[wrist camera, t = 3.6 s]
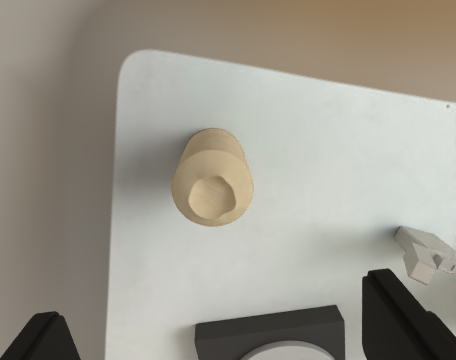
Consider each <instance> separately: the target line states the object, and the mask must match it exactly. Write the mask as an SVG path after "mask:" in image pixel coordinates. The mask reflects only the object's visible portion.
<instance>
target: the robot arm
mask: <svg viewBox="0 0 456 360" xmlns="http://www.w3.org/2000/svg"><path fill="white" fill-rule="evenodd" d="M362 346H363V350H364V354H365V356H366V358H367V360H456V337H455V336H454V334H453V333H452V332H451V331H450V330H449V329H448V328H447V327H446V325H445V324H444V323H443V322H442V321H441V320H440V319H439V318H438V317H437V316H436V315H435V314H434V313H432V312H430V311H426V310H425V309H424V308H423V307H422V306H421V305H420V303H419V302H418V301H417V300H416V299H415V298H414V296H413V295H412V294H411V293H410V292H409V291H408V289H407V288H406V287H405V286H404V285H403V284H402V282H401V281H400V280H399V279H398V278H397V277H396V275H395V274H394V273H393V272H392V271H391V270H390V269H388V268H387V269H379V270H372V271H369V272H368V275H367V276H364V277H363V280H362ZM0 360H81V359H80V357H79V354H78V352H77V349H76V346H75V344H74V342H73V339H72V336H71V334H70V331H69V329H68V326H67V323H66V321H65V319H64V317H63V316H60V315H59V313H57V312H54V311H53V312H45V313H38V314H35V315H34V316H33V317H32V318H31V319H30V320H29V322H28V323H27V324H26V326H25V327H24V328H23V329H22V331H21V332H20V333H19V335H18V336H17V337H16V338H15V340H14V341H13V342H12V344H11V345H10V346H9V347H8V349H7V350H6V351H5V353H4V354H3V355H2V357H1V358H0Z"/></svg>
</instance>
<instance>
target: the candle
mask: <svg viewBox="0 0 456 360" xmlns="http://www.w3.org/2000/svg"><path fill="white" fill-rule="evenodd" d="M253 189H254V186H253V180H252V176H251V173H250V170H249V167H248V164H247V161H246V158H245V155H244V152H243V149H242V147H241V145H240V143H239V141H238V140H237V139H236V138H235V137H234V136H233V135H232V134H231V133H229V132H227V131H225V130H222V129H216V128H211V129H206V130H203V131H200V132H198V133H197V134H195V135H194V136H193V137H192V138H191V139H190V140H189V142H188V144H187V145H186V147H185V150H184V152H183V154H182V157H181V159H180V162H179V164H178V166H177V169H176V171H175V174H174V177H173V180H172V196H173V200H174V202H175V204H176V206H177V208H178V209H179V211H180V212H181V213H182V214H183V215H184V216H185V217H186V218H188V219H189V220H191V221H193V222H195V223H197V224H200V225H204V226H222V225H226V224H228V223H231V222H233V221H235V220H236V219H238V218H239V217H240V216H241V215H242V214H243V213H244V212H245V211H246V210H247V208H248V207H249V205H250V203H251V200H252V197H253Z"/></svg>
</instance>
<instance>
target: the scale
mask: <svg viewBox="0 0 456 360" xmlns="http://www.w3.org/2000/svg"><path fill="white" fill-rule="evenodd" d="M195 346H196V350H197V354H198V359H199V360H345V329H344V319H343V317H342V315H341V314H340V312H339V310H338V308H337V306H336V305H334V306H327V307H319V308H312V309H305V310H297V311H290V312H282V313H275V314H268V315H260V316H253V317H246V318H238V319H231V320H224V321H216V322H209V323H201V324H196V330H195Z"/></svg>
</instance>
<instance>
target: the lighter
mask: <svg viewBox="0 0 456 360" xmlns="http://www.w3.org/2000/svg"><path fill="white" fill-rule="evenodd" d="M394 240H395V241H396V242H397V243H398V244H399V245H400V246H401V247H402V248H403V249H404V250H405V251H406V253H405V255H404V257H403V259H404V262H405V266H406V269H407V273H408V276H409V277H410V278H412V279H414V280H417V281H419V282H421V283H423V284H426V285H427V284H428V282H429V281H430V279H431V277H432V276H433V274H434V272H435V271H436V269H437V270H440V271H444V272H448V273H452V274H455V273H456V251H455V250H454V249H453V248H451V247H450V246H449V245H447V244H446V243H445V242H443V241H442V240H441V239H439V238H438V237H437V236H435V235H434V234H430V233H426V232H423V231H419V230H415V229H412V228H408V227H404V226H401V227H399V229H398V231H397V233H396V235H395V237H394Z"/></svg>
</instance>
